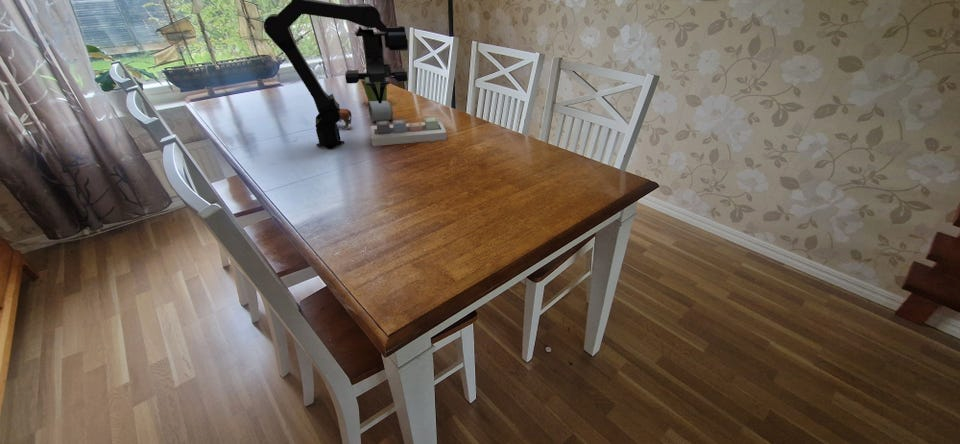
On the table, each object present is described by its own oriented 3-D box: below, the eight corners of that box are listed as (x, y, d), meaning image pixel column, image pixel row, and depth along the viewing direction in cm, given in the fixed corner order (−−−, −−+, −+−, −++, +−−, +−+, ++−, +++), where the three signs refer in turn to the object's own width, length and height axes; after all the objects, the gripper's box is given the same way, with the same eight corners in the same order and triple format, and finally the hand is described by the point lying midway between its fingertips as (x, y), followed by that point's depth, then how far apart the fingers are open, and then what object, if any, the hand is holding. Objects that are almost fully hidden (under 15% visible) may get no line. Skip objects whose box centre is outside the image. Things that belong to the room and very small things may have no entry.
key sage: (426, 130, 130) (425, 121, 128) (424, 126, 134) (424, 117, 132) (438, 129, 131) (438, 120, 129) (436, 125, 134) (436, 117, 133)
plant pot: (368, 100, 167) (364, 73, 161) (394, 100, 167) (391, 74, 160) (360, 108, 157) (355, 80, 151) (388, 109, 157) (384, 81, 151)
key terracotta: (411, 135, 130) (410, 126, 128) (409, 131, 133) (408, 122, 131) (423, 134, 131) (422, 125, 129) (421, 130, 134) (420, 121, 132)
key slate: (394, 133, 128) (393, 124, 126) (393, 128, 131) (392, 120, 129) (406, 132, 129) (405, 123, 127) (405, 127, 132) (404, 119, 130)
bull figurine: (326, 122, 142) (321, 101, 138) (356, 127, 139) (352, 105, 134) (318, 126, 139) (313, 104, 134) (349, 131, 135) (344, 108, 131)
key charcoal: (377, 134, 127) (376, 125, 125) (377, 130, 130) (376, 121, 128) (390, 133, 128) (389, 124, 126) (389, 129, 131) (388, 120, 129)
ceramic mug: (394, 122, 144) (392, 101, 140) (373, 125, 141) (370, 104, 137) (388, 114, 152) (385, 95, 148) (367, 117, 149) (364, 97, 145)
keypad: (372, 146, 124) (371, 138, 123) (371, 133, 134) (370, 126, 132) (446, 139, 130) (446, 132, 128) (440, 127, 139) (440, 120, 138)
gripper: (340, 57, 106) (350, 112, 115) (407, 56, 110) (411, 109, 119) (342, 50, 115) (350, 101, 124) (403, 49, 119) (407, 99, 128)
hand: (380, 103), depth 123 cm, fingers closed
